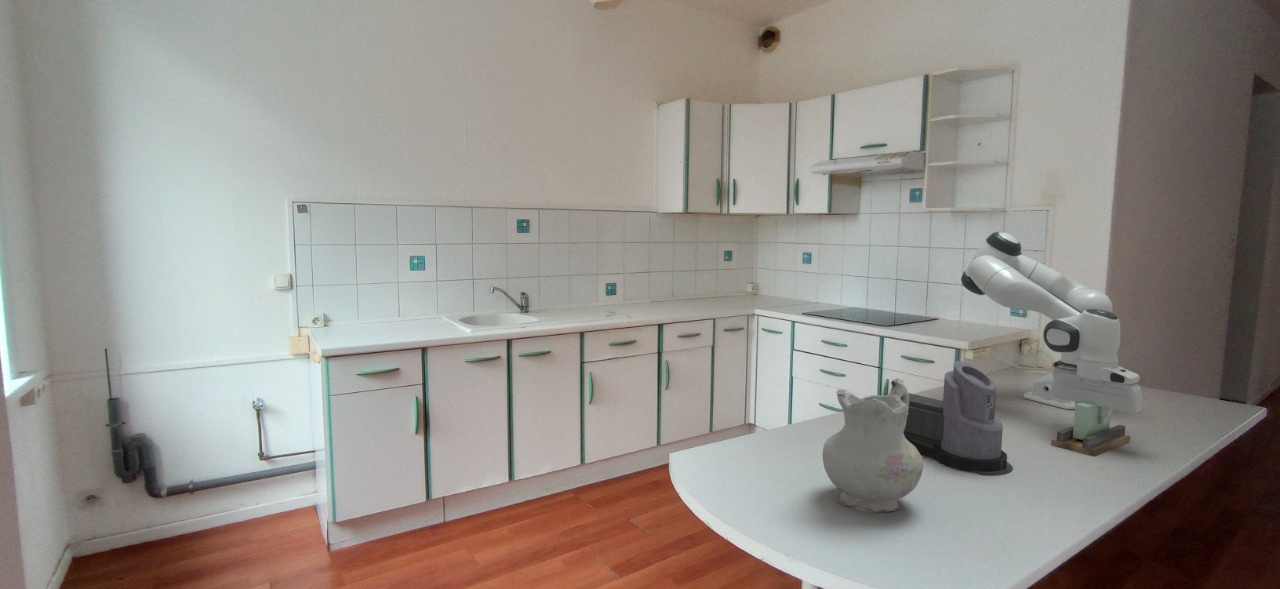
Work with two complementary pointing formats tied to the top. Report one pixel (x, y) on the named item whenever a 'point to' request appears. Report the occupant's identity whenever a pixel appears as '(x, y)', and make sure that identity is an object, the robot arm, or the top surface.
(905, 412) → the ceramic pitcher
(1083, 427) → the door panel
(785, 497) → the top surface
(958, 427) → the juicer
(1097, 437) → the bottom track
